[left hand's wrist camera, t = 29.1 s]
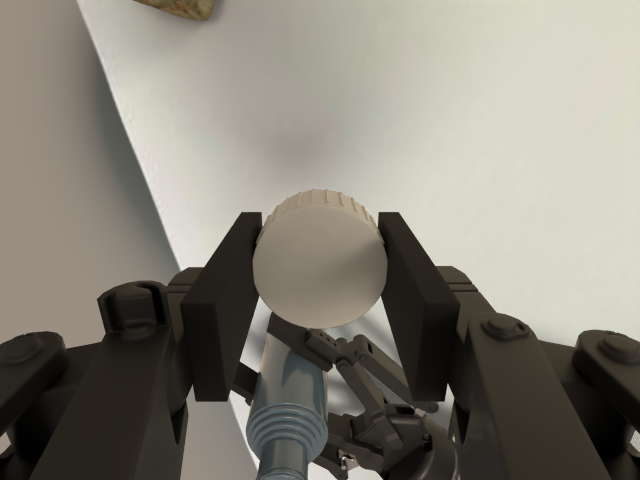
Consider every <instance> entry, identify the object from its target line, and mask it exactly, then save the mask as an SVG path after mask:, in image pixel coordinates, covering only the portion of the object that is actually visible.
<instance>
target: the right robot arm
mask: <svg viewBox="0 0 640 480" xmlns="http://www.w3.org/2000/svg"><path fill="white" fill-rule="evenodd" d="M267 332H268V333H269V334H271V335H272V336H274V337H275V338H277V339H278V340H280V341H281V342H282V343H284V344H285V345H287V346H288V347H290V348H291V349H293V350H294V351H296V352H297V353H299V354H300V355H302V356H303V357H305V358H306V359H308V360H309V361H310V362H312V363H313V364H315V365H316V366H318V367H319V368H321V369H322V370H324V371H325V372H328V371H329V370H331V369H332V368H333V364H335V365H336V369H337V370H338V372H339V373H340V374H341V376H342V377H343V378H344V380H345V381H346V382H347V384H348V385H349V386H350V388H351V389H352V390H353V392H354V393H355V394H356V396H357V397H358V398H359V400H360V401H361V402H362V404H363V405H364V406H365V408H366V410H365V412H364V413H363V414H361V415H359V416H357V417H355V416H352V415H349V414H343V415H342V416H339V415H336V414H333V413H329V412H328V439H327V442H326V444H325V446H324V449H323V450H322V452H321V453H320V454H319V455H318V456H317V457H316V458H315V459H314V460H313V461H312V462H313V463H315V464H317V465H319V466H321V467H323V468H325V469H327V470H329V471H330V473H331V474H332V475H333V476H334V477H335V478H336V479H337V480H347V479H348V471H349V470H351V469H353V468H355V467H357V466H360V467H362V468H364V469H368V470H373V471H376V472H377V473H378V474H379V475H380V476H381V478H382V479H383V480H460V475H459V467H458V460H457V452H456V445H455V437H454V436H453V439H452V440H447V438H448V432H447V431H446V430H445V429H444V428H442V427H441V426H439V425H438V424H437V423H435V422H434V421H432V420H431V419H429V418H428V417H427V416H425V414H426V413H427V412H428V413H435V412H437V411H438V409H439V406H438V403H437V402H413V400H412V396H411V393H410V390H409V386H408V383H407V380H406V377H405V373H404V370H403V369H402V368H401V367H400V366H399V365H398V364H397V363H395V362H394V361H393V360H392V359H391V358H390V357H389V356H387V355H386V354H385V353H384V352H383V351H382V350H380V349H379V348H378V347H377V346H376V345H375V344H374V343H372V342H371V341H370V340H369V339H368V338H367V337H365V336H364V335H361V334H360V335H356V336H355V337H354V339H353V341H351V342H349V343H347V340H346V339H345V338H338V339H336V340H335V339H333V338H332V337H330V336H329V335H328V334H326V333H325V332H323V331H322V330H321V329H315V328H310V329H309V330H307V329H306V328H304V327H302V326H298V325H296V324H293V323H290V322H288V321H286V320H284V319H283V318H281V317H279V316H278V315H277V314H275V313H274V312H272V313H271V316H270V320H269V324H268V329H267ZM361 365H362V366H363V367H364V368H366V369H367V370H368V371H369V372H370V373H372V374H373V375H374V376H375V377H376V378H378V379H379V380H380V381H381V382H382V383H384V384H385V385H386V386H387V387H388V388H390V389H391V390H392V391H393V392H394V393H396V394H397V395H398V396H399V397H401V398H402V399H403V400H404V401H405V402H407V403H408V404H409V405H405V404H391V403H390V402H389V401H388V399H387V398H386V396H385V395H384V394H383V392H382V391H381V389H378V388H377V387H376V385H375V384H374V382H373V381H372V380H371V378H370V377H369V375H368V374H367V373H366V371H365V370H364V368H363V367H362V366H361ZM257 377H258V373H257V372H255V371H254V370H252V369H251V368H249V367H248V366H246V365H244V364H243V363H241V362H240V361H239V364H238V368H237V371H236V374H235V377H234V381H233V384H232V387H231V390H233V391H234V392H236V393H237V394H239V395H241V396H242V397H244V398H246V400H245V402H246V403H247V404H248V405H249V406H250V407H251V404H252V399H253V395H254V391H255V386H256V382H257Z"/></svg>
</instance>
